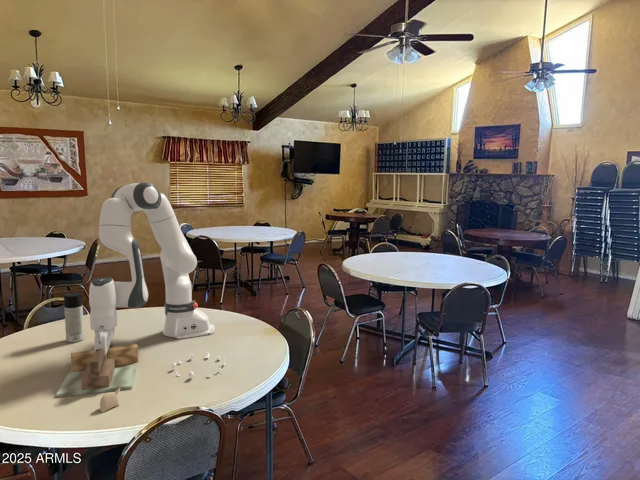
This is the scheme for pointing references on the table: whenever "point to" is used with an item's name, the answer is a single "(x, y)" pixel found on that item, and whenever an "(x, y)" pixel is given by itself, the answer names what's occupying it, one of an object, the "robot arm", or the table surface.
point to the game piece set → (191, 371)
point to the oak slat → (118, 353)
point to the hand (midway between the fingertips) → (105, 358)
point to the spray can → (73, 317)
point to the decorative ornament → (109, 401)
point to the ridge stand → (98, 377)
